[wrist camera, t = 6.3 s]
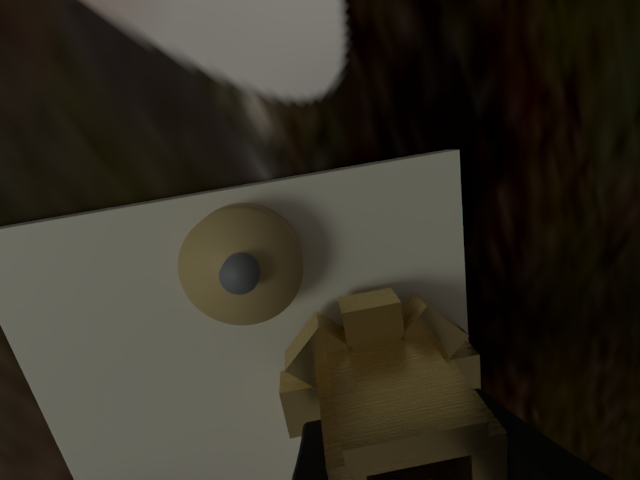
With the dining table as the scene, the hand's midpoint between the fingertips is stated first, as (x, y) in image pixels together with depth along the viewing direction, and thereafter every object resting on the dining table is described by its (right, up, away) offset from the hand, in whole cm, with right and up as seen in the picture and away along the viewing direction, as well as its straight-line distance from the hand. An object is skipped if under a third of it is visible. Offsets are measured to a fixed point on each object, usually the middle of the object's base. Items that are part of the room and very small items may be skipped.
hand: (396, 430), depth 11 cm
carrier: (-5, +1, +4) cm, 6 cm away
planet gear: (0, +1, +3) cm, 3 cm away
